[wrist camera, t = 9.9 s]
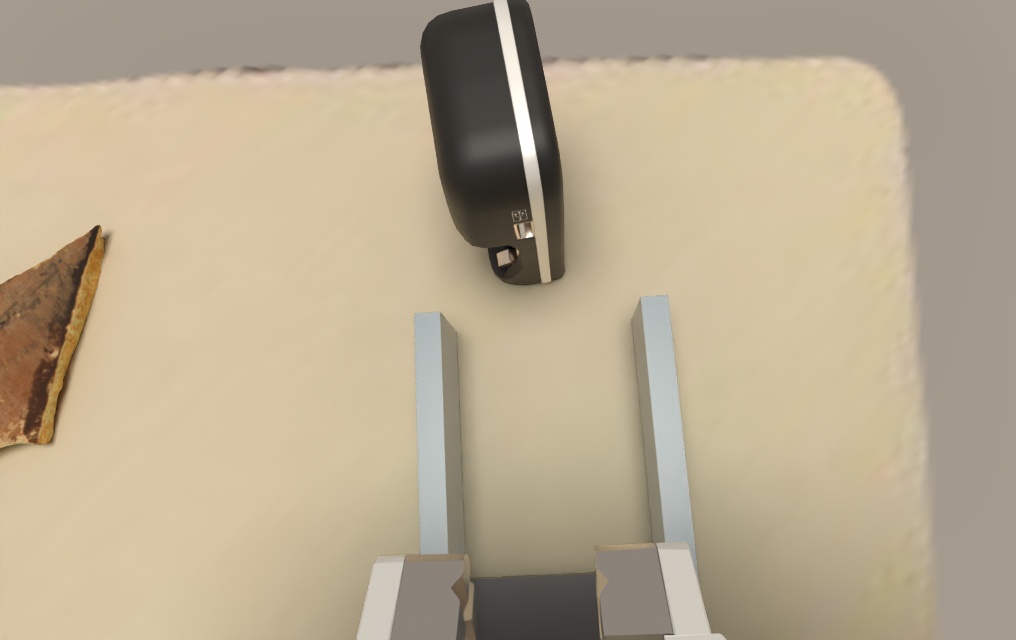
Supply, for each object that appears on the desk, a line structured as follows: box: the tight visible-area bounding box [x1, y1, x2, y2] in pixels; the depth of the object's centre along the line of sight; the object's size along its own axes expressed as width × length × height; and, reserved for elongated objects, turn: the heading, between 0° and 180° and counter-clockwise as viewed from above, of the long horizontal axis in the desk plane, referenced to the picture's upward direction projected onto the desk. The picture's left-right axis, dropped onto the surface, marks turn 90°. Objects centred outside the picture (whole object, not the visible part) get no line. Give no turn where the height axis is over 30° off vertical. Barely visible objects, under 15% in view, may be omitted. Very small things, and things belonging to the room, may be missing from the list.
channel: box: [414, 295, 699, 640], centre depth 27 cm, size 10×14×4 cm
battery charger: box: [420, 0, 565, 284], centre depth 26 cm, size 7×4×11 cm, turn 10°
